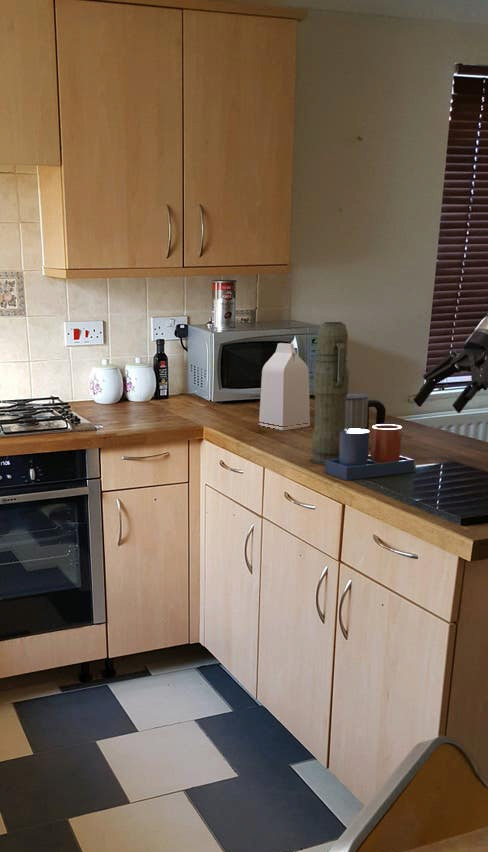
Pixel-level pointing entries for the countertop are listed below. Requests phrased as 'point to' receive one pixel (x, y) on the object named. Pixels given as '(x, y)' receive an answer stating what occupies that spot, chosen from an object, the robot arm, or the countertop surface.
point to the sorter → (369, 468)
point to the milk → (285, 390)
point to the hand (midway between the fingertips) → (435, 406)
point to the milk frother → (362, 411)
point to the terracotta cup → (386, 443)
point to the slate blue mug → (353, 447)
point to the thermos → (330, 390)
